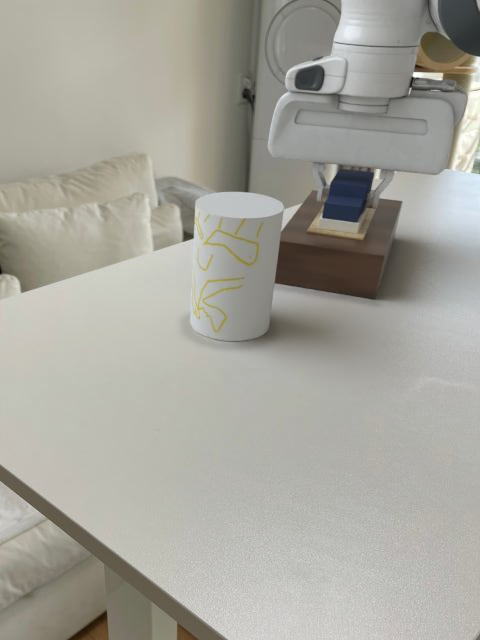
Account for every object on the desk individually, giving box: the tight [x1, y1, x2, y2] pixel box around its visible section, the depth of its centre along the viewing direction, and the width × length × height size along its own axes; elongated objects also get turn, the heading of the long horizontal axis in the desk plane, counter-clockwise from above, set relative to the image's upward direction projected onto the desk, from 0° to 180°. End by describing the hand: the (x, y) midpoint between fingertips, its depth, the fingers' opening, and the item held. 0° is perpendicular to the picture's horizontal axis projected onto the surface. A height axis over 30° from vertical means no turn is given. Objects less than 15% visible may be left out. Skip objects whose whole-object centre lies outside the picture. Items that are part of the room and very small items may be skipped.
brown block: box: [274, 189, 403, 300], centre depth 81 cm, size 22×12×5 cm, turn 158°
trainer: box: [318, 168, 375, 234], centre depth 78 cm, size 11×5×4 cm, turn 158°
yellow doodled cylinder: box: [189, 191, 285, 342], centre depth 63 cm, size 8×8×12 cm
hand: (346, 204), depth 78 cm, fingers closed on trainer, 4 cm apart
